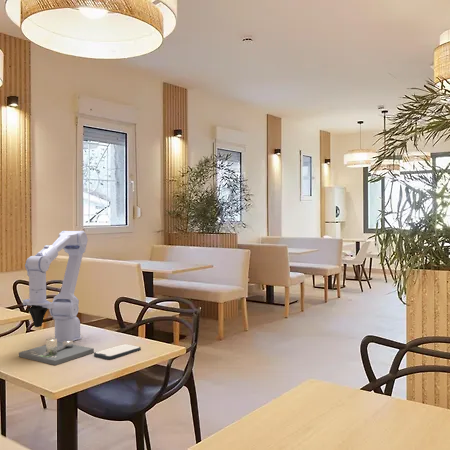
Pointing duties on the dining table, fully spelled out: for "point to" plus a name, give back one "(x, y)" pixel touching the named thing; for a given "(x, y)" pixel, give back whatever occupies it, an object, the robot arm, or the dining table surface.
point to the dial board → (56, 354)
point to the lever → (52, 346)
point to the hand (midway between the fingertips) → (38, 326)
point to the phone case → (116, 351)
